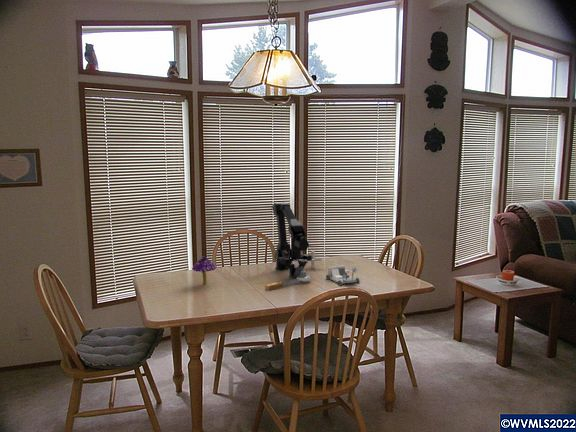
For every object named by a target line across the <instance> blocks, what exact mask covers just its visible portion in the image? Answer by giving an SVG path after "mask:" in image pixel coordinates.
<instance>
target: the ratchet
mask: <svg viewBox="0 0 576 432" xmlns="http://www.w3.org/2000/svg"><path fill="white" fill-rule="evenodd" d="M308 283H311V276H310V275H307V271H306V270H303V271H301V275H300V276H297V278H296V279H295V278H293V279H291V280H289V279H288V280H284V281H276V282H272V283H268V284H267V283H266V284H265V285H264V289H265V290H266V291H272V290H278V289H280V288H285V287H289V286H294V285H298V284H308Z"/></svg>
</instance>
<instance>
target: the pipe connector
mask: <svg viewBox="0 0 576 432" xmlns="http://www.w3.org/2000/svg"><path fill="white" fill-rule="evenodd" d="M310 253H311V254H310V255H311V257H312V260H311V261H310V264H311V265H310V268H311V269H314V268H315V262H322V257H315V250H311V252H310ZM306 261H307V259H306Z"/></svg>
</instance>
